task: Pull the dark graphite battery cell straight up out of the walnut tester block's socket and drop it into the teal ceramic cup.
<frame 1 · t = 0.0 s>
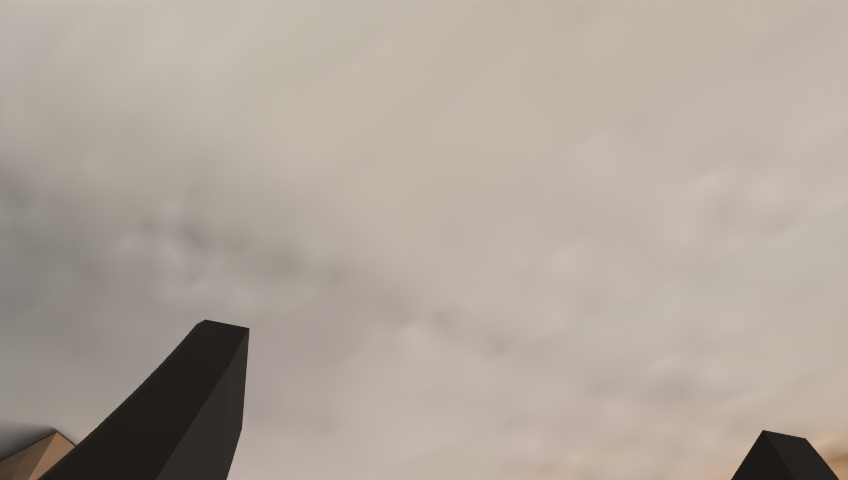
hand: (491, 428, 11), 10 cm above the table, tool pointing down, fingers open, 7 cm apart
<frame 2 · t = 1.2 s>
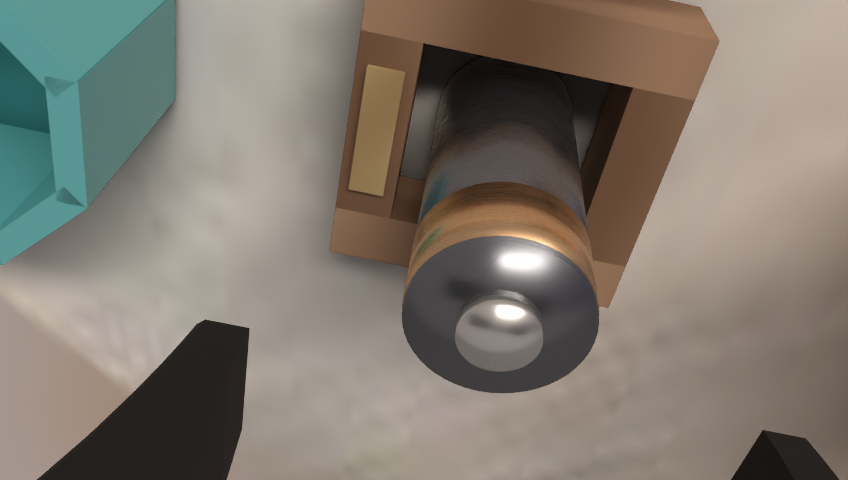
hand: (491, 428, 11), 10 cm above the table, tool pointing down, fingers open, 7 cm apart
tester block: (504, 117, 19), on the table
cup: (37, 19, 19), on the table
cell: (502, 205, 16), in the tester block
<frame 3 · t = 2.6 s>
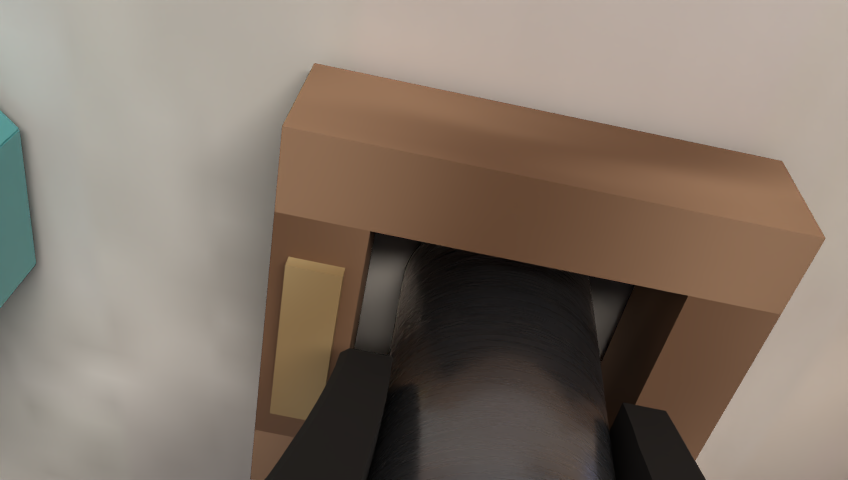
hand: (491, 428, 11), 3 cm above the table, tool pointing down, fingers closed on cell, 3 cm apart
tester block: (494, 294, 14), on the table
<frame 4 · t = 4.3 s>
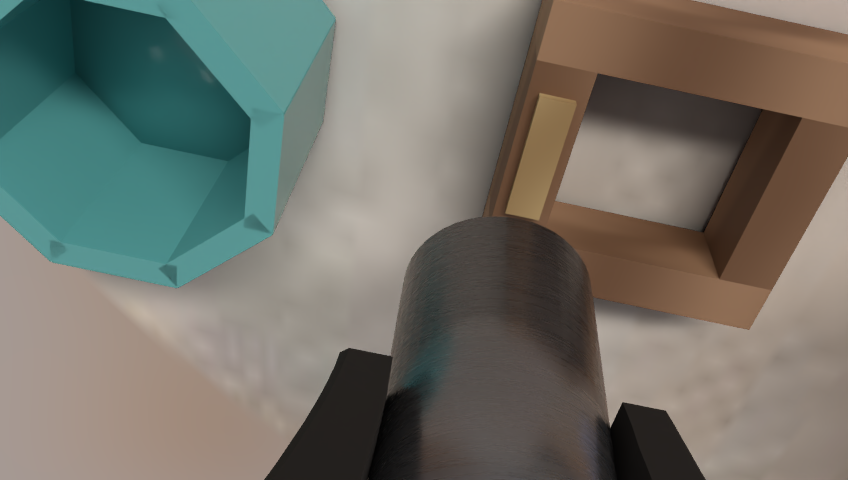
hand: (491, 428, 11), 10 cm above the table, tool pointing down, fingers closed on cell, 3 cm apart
tester block: (651, 141, 20), on the table
cup: (194, 43, 19), on the table
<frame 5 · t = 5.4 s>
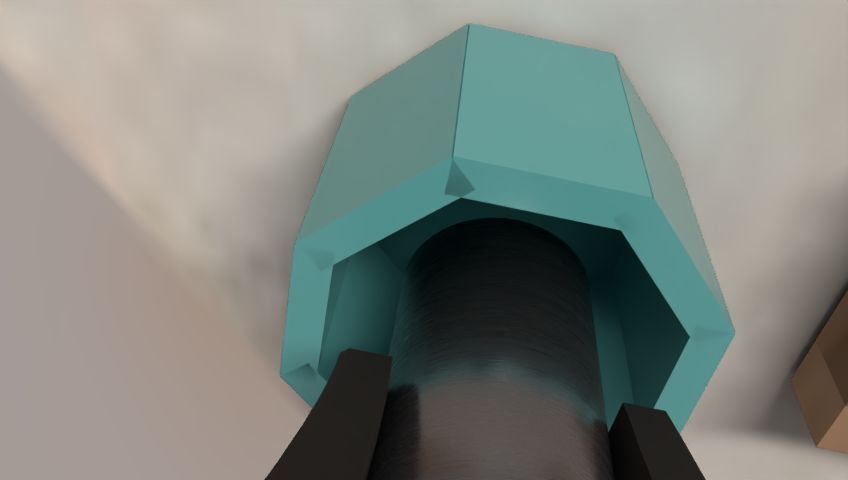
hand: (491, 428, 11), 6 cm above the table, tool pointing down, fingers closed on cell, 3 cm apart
cup: (499, 188, 17), on the table
when the fingers open (6 cm above the table, at t = 6.3 s): cell drops 2 cm, resting on cup.
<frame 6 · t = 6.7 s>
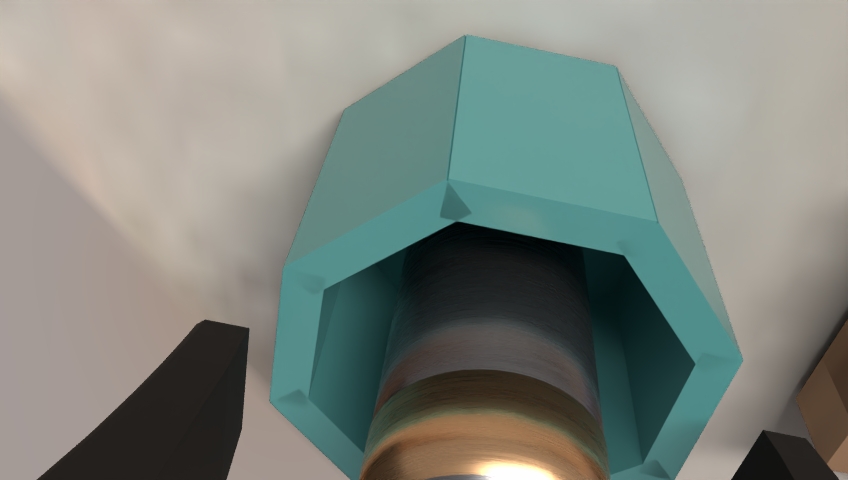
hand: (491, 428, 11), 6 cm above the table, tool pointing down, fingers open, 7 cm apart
cup: (497, 203, 16), on the table
cell: (489, 364, 12), in the cup, point 5 cm above the table
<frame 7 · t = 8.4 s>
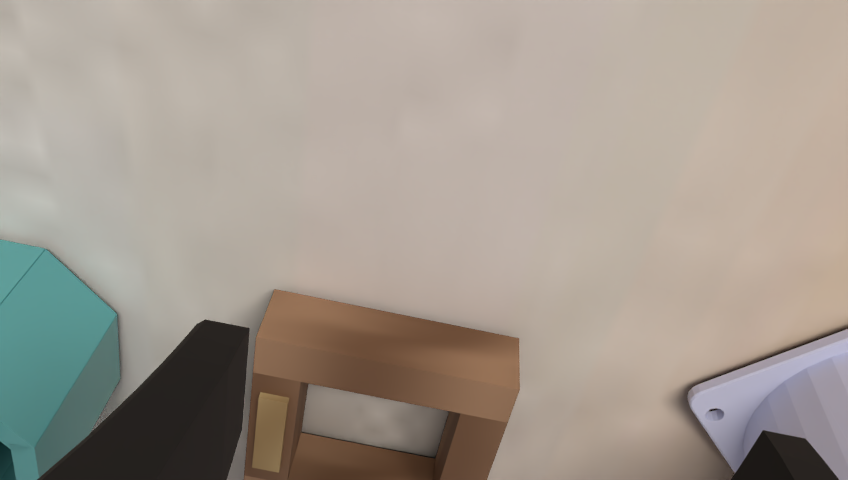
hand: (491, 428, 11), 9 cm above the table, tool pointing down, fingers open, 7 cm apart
tester block: (378, 399, 25), on the table
cup: (10, 326, 24), on the table
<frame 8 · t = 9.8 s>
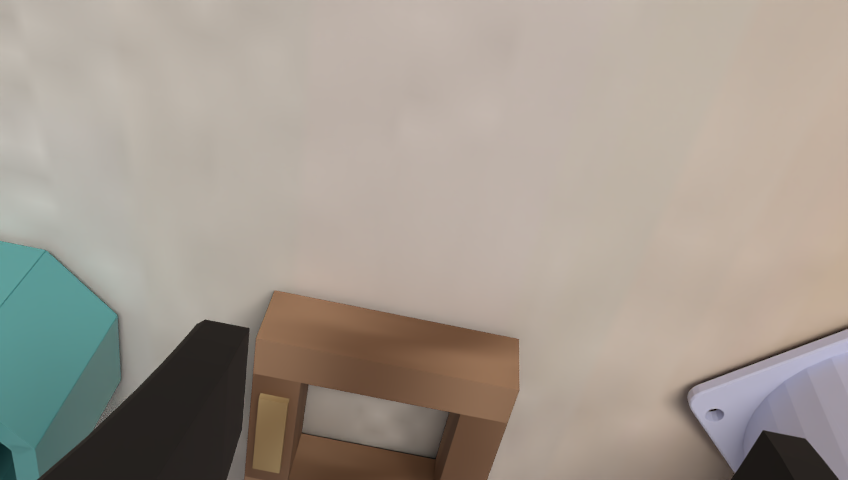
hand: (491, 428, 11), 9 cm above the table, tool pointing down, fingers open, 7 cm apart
tester block: (378, 399, 25), on the table
cup: (10, 327, 24), on the table
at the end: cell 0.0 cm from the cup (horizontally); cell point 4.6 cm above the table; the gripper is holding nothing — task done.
